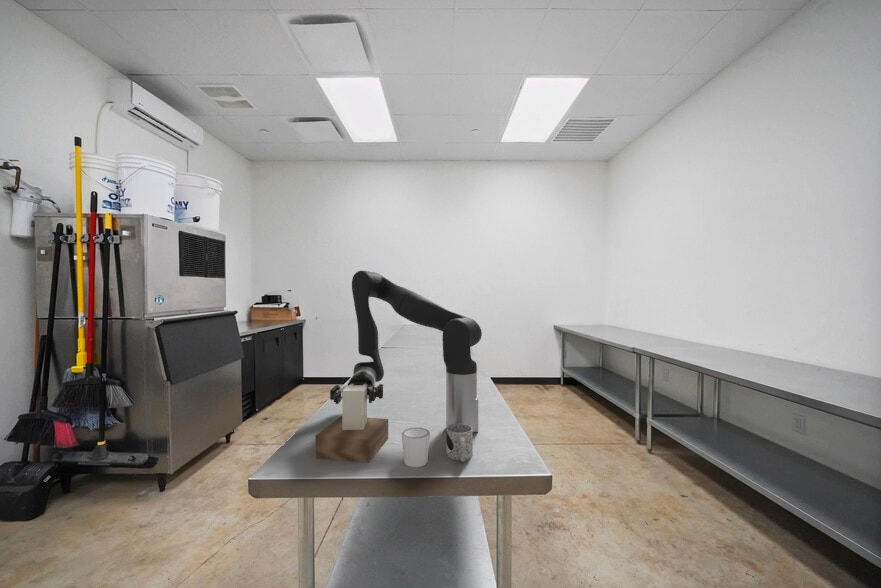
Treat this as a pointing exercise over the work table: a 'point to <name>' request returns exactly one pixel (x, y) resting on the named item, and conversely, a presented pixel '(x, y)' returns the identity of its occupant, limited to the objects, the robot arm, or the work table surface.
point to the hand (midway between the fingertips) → (353, 399)
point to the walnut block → (352, 441)
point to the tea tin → (354, 407)
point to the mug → (459, 441)
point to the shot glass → (415, 446)
